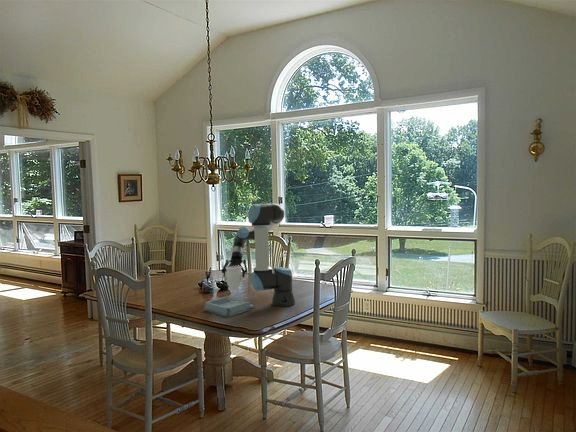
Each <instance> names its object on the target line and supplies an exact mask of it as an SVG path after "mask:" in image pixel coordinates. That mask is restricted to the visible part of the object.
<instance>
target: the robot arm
mask: <svg viewBox="0 0 576 432" xmlns="http://www.w3.org/2000/svg"><path fill="white" fill-rule="evenodd" d="M284 217H285V211H284V208H283V207H282V206H281V205H280V204H279V203H273V202H272V203H254V204H251V205H250V207H249V208H248V211H247V219H248V223H250V224H251V227H253V229H252V228H251V229H249V228H248V227H246V226H241V227H240V228H238V231H237V232H236V233H237V234H236V235H235V236H234V238H233V246H232V251H231V257H230V260H229V259H226V260H225V263H224V265H223V267H222V268H221V273H222V274H223V281H224V283H227V280H226V271H227V270H226V267H229V266H241V267H242V268H241V272H242V273H241V283H243V279H244V278H245V277H246V276H245V275H246V274H247V273H248V272H249V270H248V267H247V260H246V259H243V253H244V246H245V244H246V241H254V252H255V253H254V254H255V257H254V258H255V266H254V268H253V269H252V271H253V272H250V277H249V278H250V283H251V284H250V285H251V286H252V288H253V289H254V290H255V291H257V292H258V291H262V292H263V291H267V290H268V291H269V290H273V295H272V298H271V305H272V306H276V307H290V306H294V305H295V304H296V298H295V296H294V293H293V274H292V273H293V271H292V269H291V268H289V267H285V266H283V267H282V266H275V267H273V268H272V266H271V265H270V250H269V249H270V248H269V247H270V245H269V232H271V230H272V229H273V228H274V227H275V226H276V225H278V224H280V223H281V222H282V221H283V220H284ZM242 263H243V265H244V267H243V265H242Z"/></svg>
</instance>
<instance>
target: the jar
mask: <svg viewBox="0 0 576 432" xmlns="http://www.w3.org/2000/svg"><path fill="white" fill-rule="evenodd" d="M228 266H229V265H228ZM228 266H227V267H226V270H227V271H226V284H227V290H229V291H239V290H241V289H242V288H241V285H242V282H241V273H242V270H241V268H242V267H243V266H242V265H241V266H242V267H241V266H229V267H228Z"/></svg>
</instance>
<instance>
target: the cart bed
mask: <svg viewBox="0 0 576 432" xmlns="http://www.w3.org/2000/svg"><path fill="white" fill-rule="evenodd" d="M228 298H229V297H228V296H223V297H219V298H216V299H212V300H208V301H206V302H203V310H204V311H205V312H207V313H208V312H209V313H212V314H216V315H220V316H223V317H228V318H229V317H233V316H236V315H238V314H241V313H245V312H248V311H251V309H252V308H255V304H251V301H241V300H240V301H237V300H231V301H229V299H228Z"/></svg>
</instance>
